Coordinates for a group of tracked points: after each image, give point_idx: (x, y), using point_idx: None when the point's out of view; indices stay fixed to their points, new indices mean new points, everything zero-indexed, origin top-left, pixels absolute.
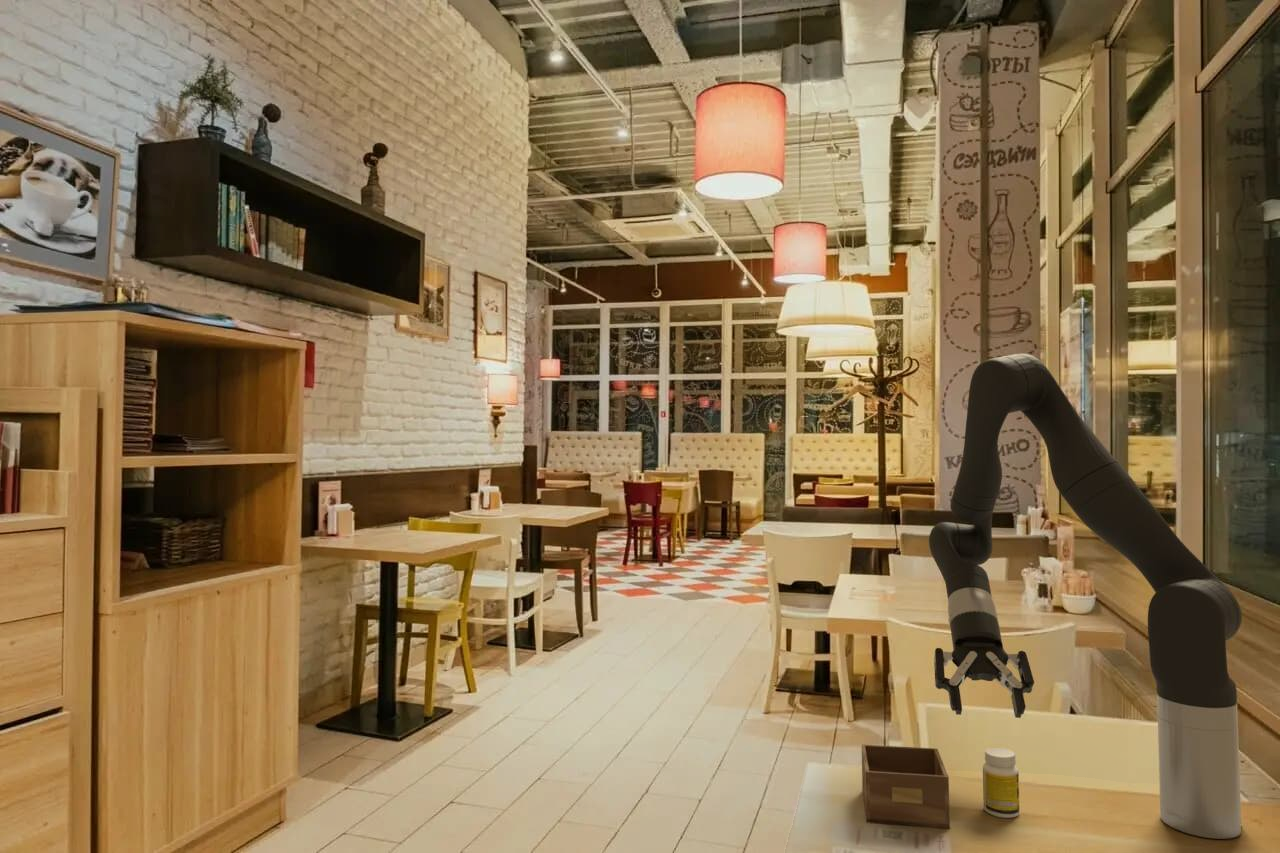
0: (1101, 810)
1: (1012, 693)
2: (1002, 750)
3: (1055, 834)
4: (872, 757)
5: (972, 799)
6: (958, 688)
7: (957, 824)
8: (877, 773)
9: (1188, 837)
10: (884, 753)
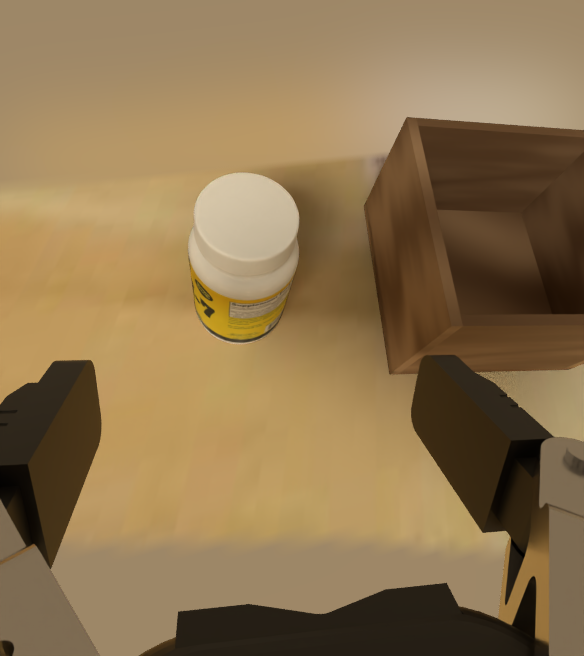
0: None
1: (42, 504)
2: (234, 231)
3: (139, 208)
4: None
5: (303, 368)
6: (506, 428)
7: (347, 228)
8: (575, 130)
9: None
10: None
